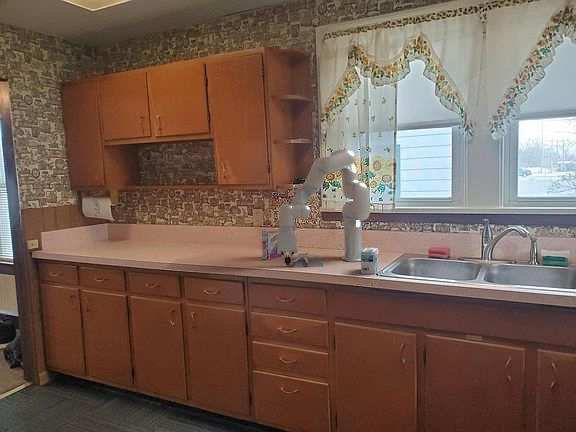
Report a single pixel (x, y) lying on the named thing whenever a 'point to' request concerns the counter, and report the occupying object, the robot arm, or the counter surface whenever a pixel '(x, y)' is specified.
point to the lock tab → (303, 254)
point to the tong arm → (295, 261)
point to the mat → (312, 263)
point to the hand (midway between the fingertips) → (287, 264)
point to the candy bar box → (270, 244)
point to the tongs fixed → (306, 261)
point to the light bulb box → (369, 260)
